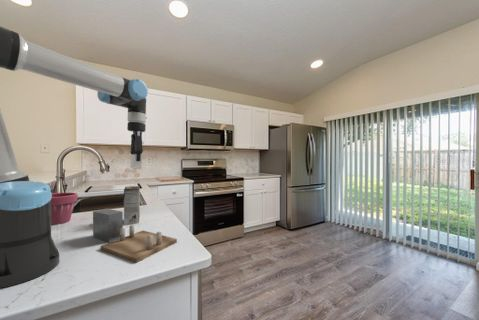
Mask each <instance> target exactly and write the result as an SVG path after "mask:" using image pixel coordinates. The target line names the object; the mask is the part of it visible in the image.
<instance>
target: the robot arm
mask: <svg viewBox="0 0 479 320" xmlns="http://www.w3.org/2000/svg"><path fill="white" fill-rule="evenodd" d="M0 68H1V69H6V70H8V71H13V72H15V71H18V70H23V71H26V72H30V73H34V74H37V75H40V76H43V77H44V76H45V77H47V78H51V79H54V80H58V81H62V82H64V83H68V84H71V85H75V86H79V87H83V88H86V89H90V90H92V91H96V92H97V93H96V94H97V99H98V101H100V102H101V103H105V104H108V105H113V106H116V107H122V108H126V109H127V119H126V120H127V126H126V128H127V131H128V132H132V134H131V135H130V138H131V141H130V142H131V144H130V151H129V153H130V168H131V169H132V168H134V169H136V170H142V161H143V160H142V159H143V157H142V155H143V152H144V149H143V136H142V135H143V133H145V132H146V120H147V119H148V117H147V116H146V115H147V96H148V93H149V92H148V87H147V85H146V83H145V82H144V81H143V80H141V79H138V78H135V79H134V78H133V79H129V78H125V77H122V76H119V75H117V74H114V73H112V72H110V71H107V70H104V69H102V68H98V67H96V66H93V65H92V64H88V63H86V62H83V61H80V60H78V59H75V58H73V57H70V56H67V55H65V54H62V53H60V52H57V51H55V50H52V49H49V48H46V47H44V46H41V45H38V44H36V43H33V42H30V41H28V40H26V39H25V38H24V37H23V35H21V34H20V33H18V32H15V31H13V30H10V29H9V28H5V27H4V26H1V25H0ZM52 194H53V193H52V192H51V185H49V184H48V183H45V182H42V181H33V180H31V181H30V178H29V174H28V173H26V172H23V171H21V170H20V169H19V166H18V162H17V159H16V157H15V153H14V149H13V146H12V143H11V140H10V137H9V133H8V129H7V127H6V123H5V119H4V117H3V113H2V110H1V109H0V288H6V287H7V288H8V287H10V286H15V285H19V284H22V283H25V282H28V281H31V280H34V279H36V278H38V277H41V276H43V275H45V274H47V273H48V272H50V271H52V270H53V269H54V268H56V267H58V265H59V263H60V252H59V249H58V248H57V246H56V244H55V242H54V239H53V237H52V225H51V198H52Z"/></svg>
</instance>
